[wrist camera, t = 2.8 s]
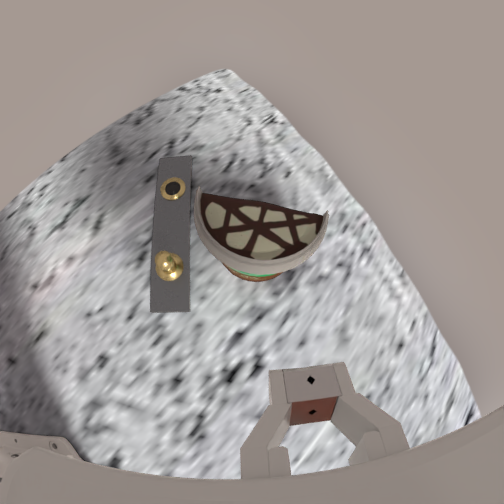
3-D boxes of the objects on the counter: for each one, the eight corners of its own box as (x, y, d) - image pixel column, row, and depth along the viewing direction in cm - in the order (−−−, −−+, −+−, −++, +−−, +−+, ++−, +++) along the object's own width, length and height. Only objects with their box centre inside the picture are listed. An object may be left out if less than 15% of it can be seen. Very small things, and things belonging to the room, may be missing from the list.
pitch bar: (152, 312, 31) (141, 308, 27) (160, 161, 37) (154, 144, 34) (190, 312, 31) (184, 307, 28) (192, 158, 37) (188, 141, 34)
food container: (192, 280, 32) (172, 251, 23) (205, 229, 34) (192, 184, 25) (301, 301, 32) (327, 281, 22) (309, 249, 34) (334, 211, 24)
